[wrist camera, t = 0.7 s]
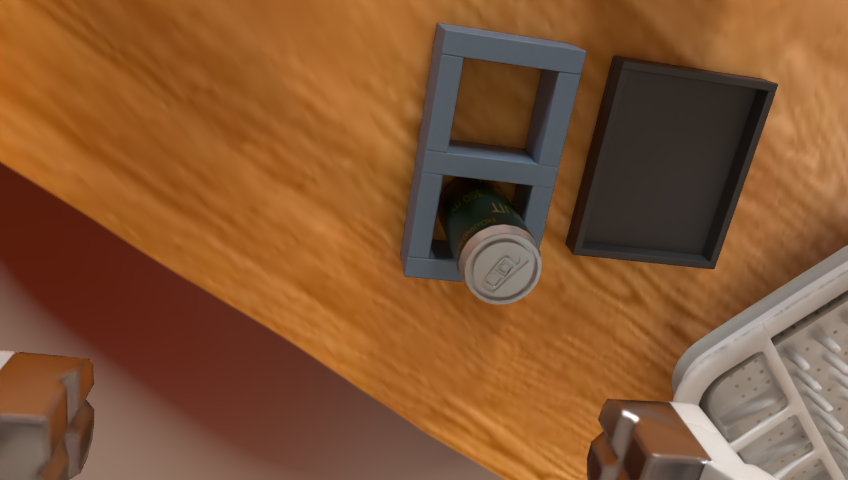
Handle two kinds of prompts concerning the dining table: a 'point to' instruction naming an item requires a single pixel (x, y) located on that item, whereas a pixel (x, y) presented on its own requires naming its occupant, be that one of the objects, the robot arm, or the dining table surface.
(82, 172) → the dining table surface
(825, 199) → the dining table surface
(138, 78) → the dining table surface
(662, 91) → the tray
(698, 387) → the dish rack
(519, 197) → the frame
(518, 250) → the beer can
